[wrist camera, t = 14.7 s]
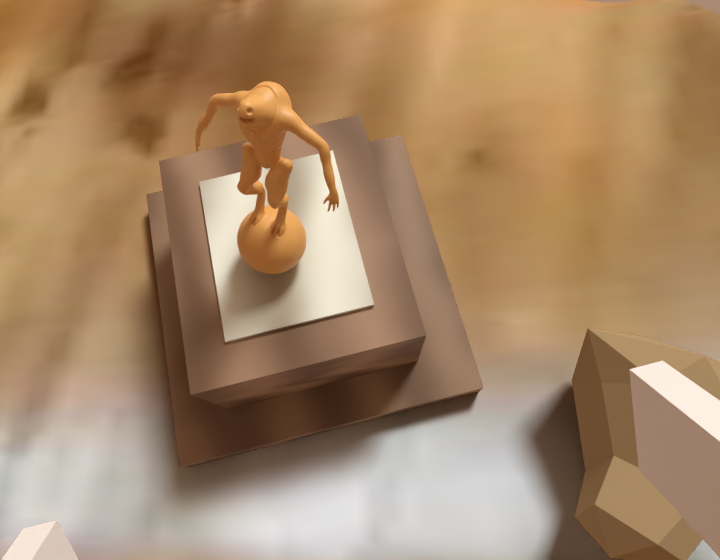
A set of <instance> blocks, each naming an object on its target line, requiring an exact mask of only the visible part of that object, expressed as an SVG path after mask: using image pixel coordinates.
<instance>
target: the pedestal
mask: <svg viewBox="0 0 720 560" xmlns="http://www.w3.org/2000/svg"><path fill="white" fill-rule="evenodd" d="M308 127H310V128H311V129H312V130H313V131H315V132H316V133H317V134H318V135H319V136H320V137H321V138H322V139H324V140H325V142H326V143H327V144H328V146H329V148H330V153H331V163H332V167H333V172H334V176H335V185H336V189H337V192H338V196H339V207H338V209H337V204H336V206H335V210H334V212H333V204H332V205H331V208H330V210H329V212H328V205H329V201H327V202H326V203H325V204H323V202H324V200H325V198H326V197H327V196H328V195H329V193H330V192H329V189H328V187H327V184H326V181H325V178H324V174H323V167H322V163H321V160H320V156H319V152H318V150H317V149H316V148H314V147H312V146H311V145H309V144H308V143H306V142H305V141H303V140H302V139H300V138H299V137H298V136H296V135H295V134H294V133H292V132H289V131H287V132H286V135H285V139H284V142H283V144H282V149H281V157H282V158H285V159H289V160H290V161H291V162H292V164H293V169H292V172H291V174H290V176H289V181H288V188H287V192H286V194H287V195H288V197H289V202H288V208H287V209H288V210H289V211H291V212H292V213H294V214H295V215H296V216H297V217H298V218H299V220H300V221H301V223H302V224H303V226H304V229H305V232H306V248H305V251H304V254H303V256H302V258H301V259H300V261H299V262H298V263H297V264H296V265H295V266H294V267H293V268H291V269H289V270H288V271H285V272H283V273H279V274H266V273H262V272H259V271H257V270H255V269H253V268H252V267H250V266H249V265H248V264H247V263H246V262H245V261H244V259H243V258H242V256H241V254H240V252H239V249H238V245H237V234H238V229H239V227H240V224H241V222H242V221H243V219H244V218H245V217H246V216H247V215H248V214H249V213H250V212H252V211H253V210H255V206H256V199H257V194H256V195H244V194H242V193H241V192H239V190H238V188H237V185H238V182H239V180H240V173H241V169H242V164H243V157H242V154H243V151H242V146H243V144H244V143H246V142H249V141H244V142H239V143H235V144H231V145H226V146H222V147H218V148H214V149H209V150H205V151H201V152H196V153H192V154H188V155H184V156H179V157H175V158H171V159H166V160H162V161H159V164H160V171H161V179H162V186H163V191H160V192H155V193H151V194H147V203H148V211H149V220H150V228H151V236H152V244H153V253H154V261H155V269H156V278H157V286H158V294H159V302H160V311H161V319H162V327H163V335H164V344H165V352H166V360H167V368H168V377H169V385H170V393H171V402H172V410H173V418H174V426H175V435H176V443H177V451H178V459H179V466H193V465H197V464H200V463H204V462H208V461H212V460H216V459H220V458H224V457H228V456H231V455H235V454H239V453H243V452H247V451H251V450H255V449H258V448H262V447H266V446H270V445H274V444H278V443H282V442H286V441H289V440H293V439H297V438H301V437H305V436H309V435H313V434H316V433H320V432H324V431H328V430H332V429H336V428H340V427H344V426H347V425H351V424H355V423H359V422H363V421H367V420H371V419H374V418H378V417H382V416H386V415H390V414H394V413H398V412H402V411H405V410H409V409H413V408H417V407H421V406H425V405H429V404H432V403H436V402H440V401H444V400H448V399H452V398H456V397H460V396H463V395H467V394H471V393H475V392H479V391H480V390H481V389H483V388H484V387H483V384H482V381H481V378H480V375H479V372H478V369H477V366H476V363H475V360H474V356H473V353H472V350H471V347H470V344H469V341H468V338H467V335H466V332H465V329H464V326H463V323H462V320H461V316H460V313H459V310H458V307H457V304H456V301H455V298H454V295H453V292H452V289H451V286H450V283H449V279H448V276H447V273H446V270H445V267H444V264H443V261H442V258H441V255H440V252H439V249H438V246H437V242H436V239H435V236H434V233H433V230H432V227H431V224H430V221H429V218H428V215H427V212H426V209H425V205H424V202H423V199H422V196H421V193H420V190H419V187H418V184H417V181H416V178H415V175H414V172H413V169H412V165H411V162H410V159H409V156H408V153H407V150H406V147H405V144H404V141H403V138H402V135H397V136H393V137H389V138H385V139H380V140H376V141H372V142H369V141H368V138H367V134H366V131H365V127H364V124H363V121H362V117H361V114H359V115H355V116H351V117H347V118H342V119H338V120H334V121H329V122H325V123H321V124H317V125H312V126H308ZM269 170H270V168H268V169H265V168H263V167H262V174H261V177H260V179H259V180H258V181H260V182H261V183H262V184H263V186H264V188H265V178H266V175H267V174H268V172H269ZM265 190H266V188H265ZM265 206H269V203H268V201H267V190H266V197H265Z"/></svg>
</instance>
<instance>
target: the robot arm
mask: <svg viewBox="0 0 720 560" xmlns="http://www.w3.org/2000/svg"><path fill="white" fill-rule="evenodd" d="M629 371H630V381H631V392H632V403H633V414H634V424H635V435H636V446H637V457H638V467H639V471H640V472H641V473H642V474H643V475H644V476H645V477H646V478H647V479H648V480H649V481H650V482H651V484H652V485H653V486H654V487H655V488H656V489H657V490H658V491H659V492H660V493H661V494H662V495H663V497H664V498H665V499H666V500H667V501H668V502H669V503H670V504H671V505H672V506H673V507H674V508H675V510H676V511H677V512H678V513H679V514H680V515H681V516H682V517H683V518H684V519H685V520H686V521H687V523H688V524H689V525H690V526H691V527H692V528H693V529H694V530H695V531H696V532H697V533H698V534H699V536H700V537H701V538H702V539H703V540H704V541H705V542H706V543H707V544H708V545H709V546H710V547H711V549H712V550H713V551H714V552H715V553H716V554H717V555H718V556H719V557H720V400H718V399H717V398H715V397H714V396H713V395H711V394H710V393H708V392H707V391H705V390H704V389H703V388H701V387H700V386H698V385H697V384H695V383H694V382H692V381H691V380H690V379H688V378H687V377H685V376H684V375H682V374H681V373H680V372H678V371H677V370H675V369H674V368H672V367H671V366H670V365H668V364H667V363H665V362H664V361H659V362H655V363H652V364H648V365H644V366H640V367H636V368H633V369H629ZM2 560H78V558H77V556H76V555H75V553H74V551H73V549H72V547H71V545H70V543H69V541H68V540H67V538H66V536H65V534H64V532H63V530H62V528H61V526H60V525H59V523H58V521H57V520H55V521H51V522H48V523H44V524H40V525H36V526H32V527H29V528H25V529H23V530H22V532H21V533H20V534H19V536H18V537H17V539H16V540H15V541H14V543H13V544H12V546H11V547H10V549H9V550H8V551H7V553H6V554H5V556H4V557H3V558H2Z"/></svg>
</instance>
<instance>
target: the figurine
mask: <svg viewBox="0 0 720 560" xmlns="http://www.w3.org/2000/svg"><path fill="white" fill-rule="evenodd" d="M218 106H221V107H227V108H237V109H238V110H237V112H238V119H239V124H240V128H241V131H242V133H243V135H244V136H245V138H247V140H248V141H249V142H246V143H244V144H243V146H242V151H243V154H242V157H243V164H242V169H241V173H240V180H239V182H238V185H237V188H238V190H239V192H241V193H242V194H244V195H256V194H257V199H256V206H255V210H253V211H252V212H250V213H249V214H248V215H247V216H246V217H245V218H244V219H243V221H242V222H241V224H240V227H239V229H238V234H237V245H238V249H239V252H240V254H241V256H242V258H243V259H244V261H245V262H246V263H247V264H248V265H249V266H250V267H252V268H253V269H255V270H257V271H259V272H262V273H266V274H279V273H283V272H285V271H288V270H289V269H291V268H293V267H294V266H295V265H296V264H297V263H298V262H299V261H300V259H301V258H302V256H303V254H304V251H305V248H306V232H305V229H304V226H303V224H302V223H301V221H300V220H299V218H298V217H297V216H296V215H295V214H294V213H292V212H291V211H289V210H288V209H287V208H288V202H289V197H288V195H287V194H286V192H287V188H288V181H289V176H290V174H291V172H292V169H293V164H292V162H291V161H290V160H289V159H285V158H282V157H281V149H282V144H283V142H284V139H285V135H286V132H287V131H289V132H292V133H294V134H295V135H296V136H298V137H299V138H300V139H302V140H303V141H305V142H306V143H308V144H309V145H311V146H312V147H314V148H316V149H317V150H318V152H319V156H320V160H321V163H322V167H323V174H324V178H325V181H326V184H327V187H328V189H329V192H330V193H329V195H328V196H327V197H326V198H325V200H324V202H323V204H325V203H326V202H327V201H329V205H328V212H329V210H330V208H331V205H332V204H333V212H334V210H335V206H336V204H337V209H338V207H339V196H338V192H337V189H336V185H335V176H334V172H333V167H332V163H331V153H330V148H329V146H328V144H327V143H326V142H325V140H324V139H322V138H321V137H320V136H319V135H318V134H317V133H316V132H315V131H313V130H312V129H311V128H310V127H308V126H307V125H306V124H305V123H304V122H303V121H302V120H301V119H300V117H299V116H298V115H297V114H296V113H295V112H294V111H293V110H292V106H291V101H290V98H289V95H288V93H287V92H286V91H285V89H284V88H283V87H282V86H280V85H279V84H277V83H274V82H262V83H260V84H258V85H257V86H256V87H255V88H254V89H252V90H251V91H238V92H236V93H232V94H231V93H224V94H216V95H214V96H212V97H211V99H210V100H209V103H208V107H207V110H206V111H205V113H204V115H203V116H202V118H201V119H200V121H199V124H198V127H197V129H196V150H197V151H198V147H199V146H200V137H201V133H202V132H203V131H204V130H205V129H206V128H207V127H208V126H209V124H210V122H211V120H212V118H213V116H214V114H215V113H216V111H217V107H218ZM262 167H263V168H265V169H268V168H270V170H269V172H268V174H267V175H266V178H265V188H266V190H267V201H268V203H269V206H265V197H266V190H265V188H264V186H263V184H262V183H261V182H260V181H258V180H259V179H260V177H261V174H262Z"/></svg>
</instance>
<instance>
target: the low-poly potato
mask: <svg viewBox="0 0 720 560" xmlns="http://www.w3.org/2000/svg"><path fill="white" fill-rule="evenodd" d="M659 361H664V362H665V363H667V364H668V365H670V366H671V367H672V368H674V369H675V370H677V371H678V372H680V373H681V374H682V375H684V376H685V377H687V378H688V379H690V380H691V381H692V382H694V383H695V384H697V385H698V386H700V387H701V388H703V389H704V390H705V391H707V392H708V393H710V394H711V395H713V396H714V397H715V398H717V399H718V400H720V363H719V361H717V360H714V359H712V358H709V357H707V356H704V355H701V354H698V353H695V352H692V351H689V350H686V349H682V348H679V347H676V346H673V345H669V344H666V343H662V342H659V341H655V340H652V339H648V338H645V337H641V336H638V335H633V334H626V333H619V332H612V331H604V330H597V329H590V328H588V330H587V333H586V336H585V339H584V342H583V346H582V349H581V352H580V355H579V358H578V362H577V365H576V368H575V371H574V374H573V378H572V384H573V391H574V398H575V405H576V412H577V419H578V425H579V432H580V439H581V446H582V453H583V460H584V467H585V474H584V478H583V483H582V487H581V491H580V495H579V499H578V504H577V508H576V512H575V516H574V517H575V518H576V519H577V520H578V522H579V523H580V524H581V525H582V526H583V527H584V529H585V530H586V531H587V532H588V533H589V534H590V535H591V537H592V538H593V539H594V540H595V541H596V542H597V543H598V545H599V546H600V547H601V548H602V549H603V550H604V552H605V553H606V554H607V555H608V556H609V557H610V558H614V559H624V560H687V559H688V558H689V557H690V555H691V554H692V553H693V551H694V550H695V549H696V547H697V546H698V545H699V543H700V542H701V541H702V540H703V539H702V538H701V537H700V536H699V534H698V533H697V532H696V531H695V530H694V529H693V528H692V527H691V526H690V525H689V524H688V523H687V521H686V520H685V519H684V518H683V517H682V516H681V515H680V514H679V513H678V512H677V511H676V510H675V508H674V507H673V506H672V505H671V504H670V503H669V502H668V501H667V500H666V499H665V498H664V497H663V495H662V494H661V493H660V492H659V491H658V490H657V489H656V488H655V487H654V486H653V485H652V484H651V482H650V481H649V480H648V479H647V478H646V477H645V476H644V475H643V474H642V473H641V472H640V471H639V467H638V457H637V446H636V435H635V424H634V414H633V403H632V392H631V381H630V371H629V369H633V368H636V367H640V366H644V365H648V364H652V363H655V362H659Z"/></svg>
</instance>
